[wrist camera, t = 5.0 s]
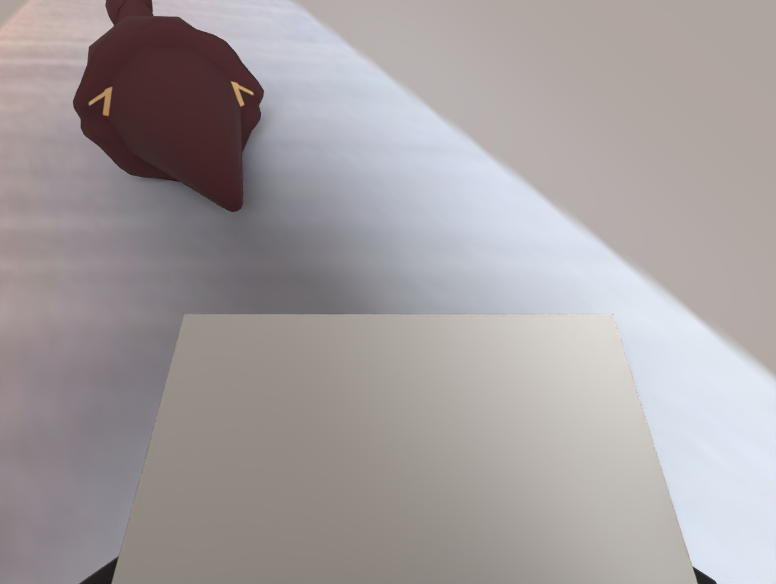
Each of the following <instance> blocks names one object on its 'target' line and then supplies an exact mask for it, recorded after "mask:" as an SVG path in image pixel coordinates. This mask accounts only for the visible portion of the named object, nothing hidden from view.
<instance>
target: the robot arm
mask: <svg viewBox="0 0 776 584" xmlns="http://www.w3.org/2000/svg"><path fill="white" fill-rule="evenodd" d="M118 558H119V556H118V557H117V558H115V559H114V560H112V561H111V562H109V563H108V564H107V565H105V566H104V567H102V568H101V569H99V570H98V571H96V572H95V573H94V574H92V575H91V576H89V577H88V578H86V579H85V580H84V581H82V582H81V583H79V584H112V580H113V576H114V573H115V569H116V565H117V561H118ZM692 567H693V566H692ZM693 570H694V574H695V577H696V580H697V583H698V584H717V583H716V581H715V580H713V579H712V578H710V577H708V576H707V575H705V574H704V573H702V572H701V571H699V570H698V569H696V568H694V567H693Z"/></svg>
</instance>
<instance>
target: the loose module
mask: <svg viewBox="0 0 776 584" xmlns="http://www.w3.org/2000/svg"><path fill="white" fill-rule="evenodd" d="M112 584H698V583H697V580H696V577H695V574H694V570H693V567H692V564H691V561H690V558H689V554H688V551H687V548H686V545H685V542H684V539H683V535H682V532H681V529H680V526H679V523H678V519H677V516H676V513H675V510H674V507H673V504H672V500H671V497H670V494H669V491H668V488H667V484H666V481H665V478H664V475H663V472H662V468H661V465H660V462H659V459H658V456H657V453H656V449H655V446H654V443H653V440H652V437H651V433H650V430H649V427H648V424H647V421H646V417H645V414H644V411H643V408H642V405H641V402H640V398H639V395H638V392H637V389H636V386H635V382H634V379H633V376H632V373H631V370H630V366H629V363H628V360H627V357H626V354H625V351H624V347H623V344H622V341H621V338H620V335H619V331H618V328H617V325H616V322H615V319H614V316H613V314H184V316H183V320H182V324H181V328H180V331H179V335H178V339H177V342H176V346H175V350H174V354H173V357H172V361H171V365H170V368H169V372H168V376H167V380H166V383H165V387H164V391H163V394H162V398H161V402H160V406H159V409H158V413H157V417H156V420H155V424H154V428H153V431H152V435H151V439H150V443H149V446H148V450H147V454H146V457H145V461H144V465H143V469H142V472H141V476H140V480H139V483H138V487H137V491H136V495H135V498H134V502H133V506H132V509H131V513H130V517H129V521H128V524H127V528H126V532H125V535H124V539H123V543H122V547H121V550H120V554H119V558H118V561H117V565H116V569H115V573H114V576H113V580H112Z"/></svg>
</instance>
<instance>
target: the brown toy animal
mask: <svg viewBox="0 0 776 584" xmlns="http://www.w3.org/2000/svg"><path fill="white" fill-rule="evenodd" d="M106 9H107V12H108V15H109V17H110V19H111V21H112V23H113V24H114V27H113V28H111V29H110V30H109V31H108V32H107V33H105V34H104V35H103V36H102V37H100V38H99V39H98V40H97V41H96V42H94V43H93V44H92V45H91V46H90V47H89V53H88V63H87V67H86V69H85V72H84V75H83V77H82V80H81V83H80V85H79V87H78V89H77V92H76V95H75V97H74V100H73V105H74V109H75V111H76V112H77V114H78V115H79V117H80V118H81V129H82V131H83V134H84V135H85V136H86V137H87V138H89V139H90V140H91V141H93V142H94V143H95V144H97V145H98V146H100V147H101V149H102V150H103V151H104V152H105V153H106V154H107V155H108V156H109V157H110V158H111V159H112V160H113V161H114V162H115V163H116V164H117V165H118V166H119V167H120V168H121V169H123V170H124V171H126V172H127V173H129V174H130V175H135V176H140V177H149V178H161V179H169V180H174V181H180V182H182V183H184V184H185V185H187V186H189V187H190V188H192V189H194V190H195V191H197V192H199V193H200V194H202V195H203V196H205V197H206V198H208V199H210V200H211V201H213V202H214V203H216V204H217V205H219V206H221V207H223V208H225V209H227V210H229V211H231V212H235V211H238V210H239V209H241V207H242V204H243V181H242V151H243V149H244V147H245V145H246V142H247V140H248V138H249V136H250V133H251V131H252V130H253V129H254V127H255V126H256V125H257V123H258V122H259V120H260V117H261V112H260V108H259V104H260V102H261V100H262V98H263V95H264V90H263V89H262V87H261V85H260V84H259V82H258V81H257V80H256V79H255V77H254V76H253V75H252V74H251V73H250V71H249V70H248V69H247V68H246V67H245V65H244V64H243V63H242V62H241V60H240V58H239V57H238V55H237V53H236V52H235V51H234V50H233V49H232V48H231V47H230V45H229V44H228V43H227V42H226V41H224V40H223V39H221V38H219V37H217V36H215V35H213V34H210V33H207V32H203V31H200V30H197V29H195V28H193V27H192V26H191V25H189V24H188V23H186V22H185V21H184V20H182V19H181V18H180V17H164V16H153V14H152V12H153V10H152V0H106Z"/></svg>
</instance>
